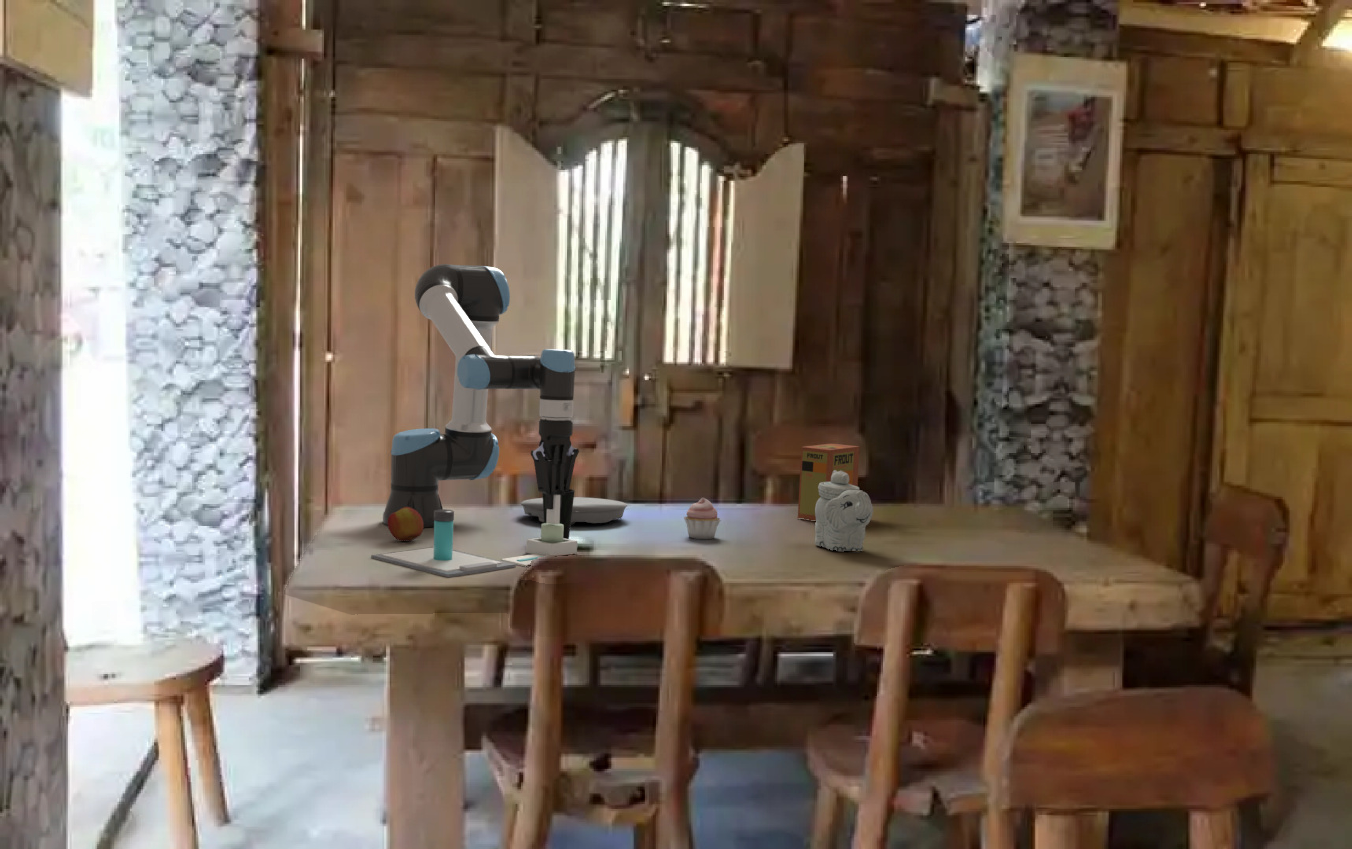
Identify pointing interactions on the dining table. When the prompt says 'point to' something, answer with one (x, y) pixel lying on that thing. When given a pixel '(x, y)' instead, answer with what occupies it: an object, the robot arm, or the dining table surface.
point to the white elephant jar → (841, 514)
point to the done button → (552, 533)
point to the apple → (405, 524)
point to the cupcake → (702, 520)
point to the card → (522, 559)
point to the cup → (563, 511)
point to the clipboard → (443, 562)
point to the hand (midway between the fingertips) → (552, 523)
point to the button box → (551, 547)
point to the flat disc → (581, 509)
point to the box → (823, 472)
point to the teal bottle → (443, 534)
